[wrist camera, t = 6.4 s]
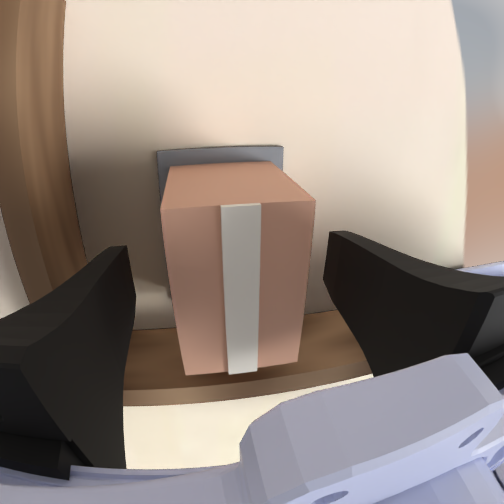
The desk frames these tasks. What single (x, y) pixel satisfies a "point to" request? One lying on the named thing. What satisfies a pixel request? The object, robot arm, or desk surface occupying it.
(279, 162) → the pad
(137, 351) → the l-shaped wooden frame
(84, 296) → the robot arm
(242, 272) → the block
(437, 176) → the desk surface
